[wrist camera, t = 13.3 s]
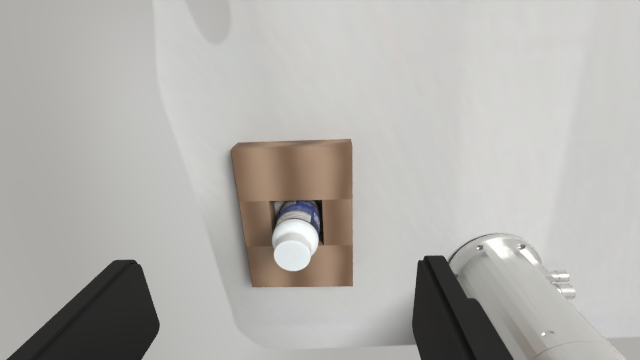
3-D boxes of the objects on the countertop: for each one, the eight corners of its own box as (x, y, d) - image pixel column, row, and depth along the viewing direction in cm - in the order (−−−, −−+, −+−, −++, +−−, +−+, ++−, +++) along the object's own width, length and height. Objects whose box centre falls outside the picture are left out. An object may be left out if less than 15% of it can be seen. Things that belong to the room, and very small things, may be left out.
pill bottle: (317, 232, 42) (313, 280, 33) (279, 227, 42) (265, 273, 33) (323, 198, 40) (320, 238, 31) (283, 192, 40) (269, 231, 31)
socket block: (350, 139, 37) (352, 145, 34) (351, 271, 44) (352, 286, 42) (238, 142, 38) (230, 149, 35) (257, 273, 45) (252, 287, 42)
